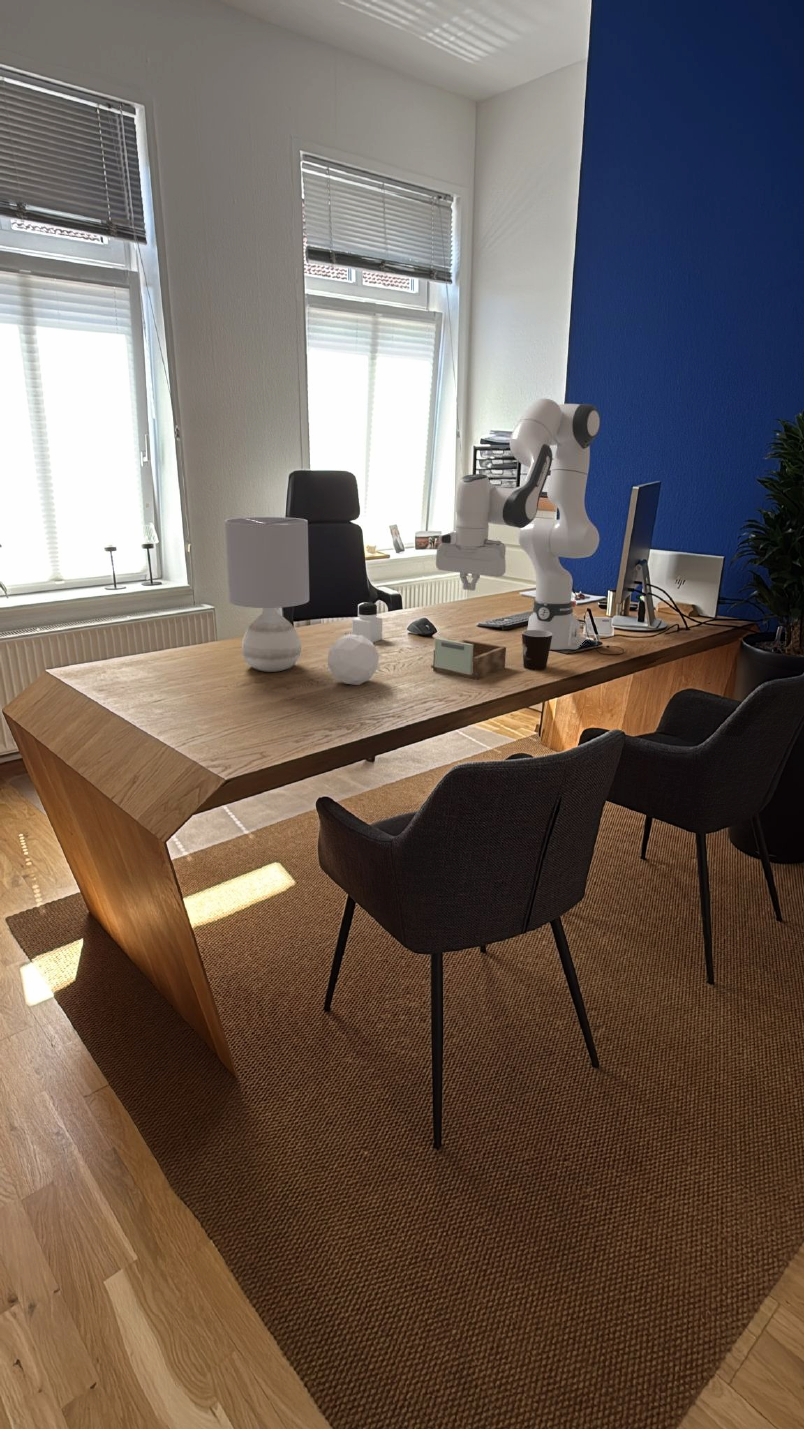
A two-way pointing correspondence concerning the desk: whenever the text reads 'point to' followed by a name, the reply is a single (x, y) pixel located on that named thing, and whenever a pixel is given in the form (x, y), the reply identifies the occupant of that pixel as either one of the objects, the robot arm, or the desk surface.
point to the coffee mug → (536, 649)
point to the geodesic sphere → (353, 659)
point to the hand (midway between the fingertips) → (469, 589)
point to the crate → (480, 660)
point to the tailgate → (453, 655)
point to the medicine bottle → (368, 622)
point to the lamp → (268, 584)
